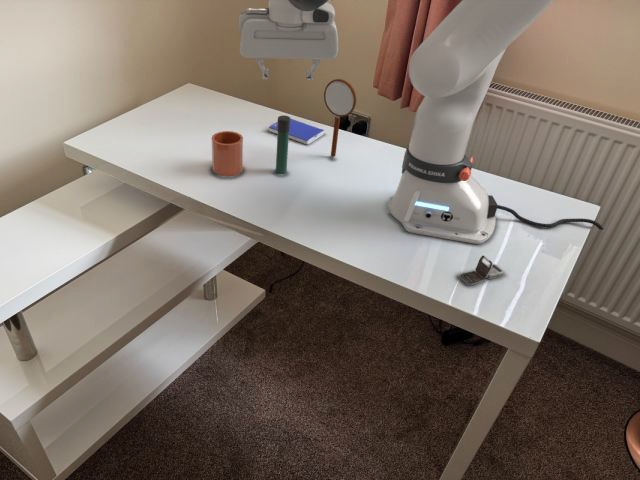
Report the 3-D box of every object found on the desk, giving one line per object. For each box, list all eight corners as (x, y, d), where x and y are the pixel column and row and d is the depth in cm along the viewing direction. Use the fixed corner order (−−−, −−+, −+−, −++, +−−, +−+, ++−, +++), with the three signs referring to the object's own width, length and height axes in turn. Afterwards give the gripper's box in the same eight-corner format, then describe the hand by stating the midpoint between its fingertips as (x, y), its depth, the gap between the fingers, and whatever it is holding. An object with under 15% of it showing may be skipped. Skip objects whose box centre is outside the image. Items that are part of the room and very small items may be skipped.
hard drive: (269, 126, 154) (307, 139, 149) (286, 116, 159) (324, 129, 154) (268, 131, 155) (307, 145, 150) (286, 121, 160) (323, 134, 155)
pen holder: (247, 167, 140) (248, 135, 134) (233, 181, 135) (233, 147, 129) (222, 160, 142) (221, 128, 137) (207, 173, 137) (205, 140, 132)
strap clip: (493, 266, 112) (499, 248, 109) (504, 275, 110) (511, 257, 107) (458, 277, 109) (463, 259, 106) (468, 286, 107) (474, 268, 104)
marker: (288, 172, 138) (292, 116, 129) (283, 177, 136) (287, 121, 127) (278, 169, 139) (281, 114, 130) (273, 174, 137) (275, 118, 128)
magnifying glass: (349, 163, 142) (360, 83, 130) (345, 166, 141) (356, 85, 128) (320, 152, 147) (328, 73, 134) (316, 154, 146) (324, 75, 133)
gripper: (237, 11, 112) (237, 82, 121) (342, 14, 111) (335, 85, 120) (239, 3, 117) (239, 72, 126) (340, 5, 116) (333, 74, 125)
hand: (287, 78), depth 123 cm, fingers open, 8 cm apart
